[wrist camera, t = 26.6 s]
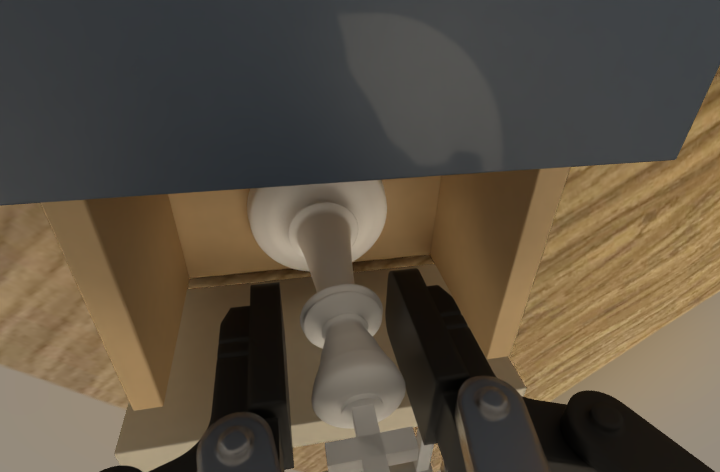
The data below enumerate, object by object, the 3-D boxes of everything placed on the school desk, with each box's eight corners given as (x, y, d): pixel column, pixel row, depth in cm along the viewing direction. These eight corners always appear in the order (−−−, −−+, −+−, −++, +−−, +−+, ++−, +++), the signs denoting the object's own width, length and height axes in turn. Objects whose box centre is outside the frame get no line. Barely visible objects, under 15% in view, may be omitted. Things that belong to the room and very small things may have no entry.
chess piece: (235, 149, 14) (201, 448, 6) (385, 135, 15) (545, 383, 6) (258, 270, 17) (258, 585, 9) (384, 253, 17) (494, 529, 9)
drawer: (429, 386, 25) (479, 516, 19) (199, 421, 23) (180, 578, 17) (517, -114, 12) (733, -158, 7) (23, -141, 10) (-259, -236, 5)
